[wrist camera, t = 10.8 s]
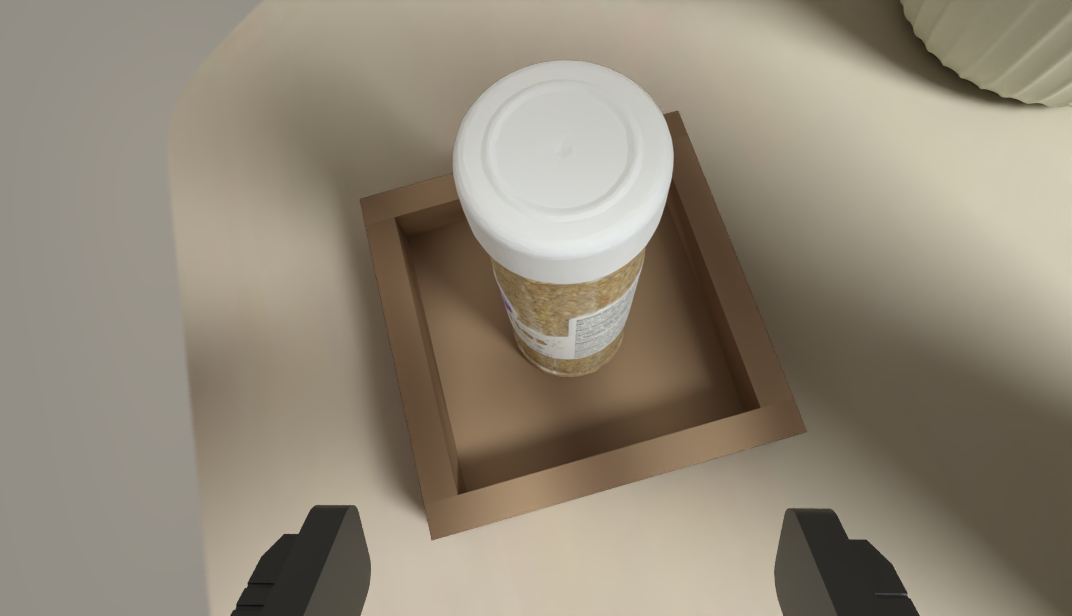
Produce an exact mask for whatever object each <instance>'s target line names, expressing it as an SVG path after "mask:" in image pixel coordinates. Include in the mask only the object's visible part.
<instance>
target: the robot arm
mask: <svg viewBox="0 0 1072 616" xmlns="http://www.w3.org/2000/svg"><path fill="white" fill-rule="evenodd" d="M370 576H371V563H370V557H369V552H368V548H367V544H366V540H365V536H364V532H363V528H362V524H361V520H360V516H359V512H358V509H357V507H356V506H354V505H315V506H314V507H313V508H312V509H311V510H310V512H309V514H308V516H307V518H306V520H305V522H304V524H303V526H302V528H301V530H300V532H299V534H284V535H283V536H282V537H281V538H280V539H279V540H278V541H277V542H276V543H275V544H274V545H273V546H272V547H271V548H270V549H269V550H268V551H267V552H266V553H265V554H264V555H263V556H262V557H261V558H260V560H259V562H258V564H257V566H256V568H255V570H254V572H253V574H252V576H251V577H250V579H249V581H248V586H247V588H245V589H244V591H243V593H242V595H241V596H240V598H239V600H238V602H237V604H236V610H233V612H232V614H231V615H230V616H360V615H361V612H362V609H363V606H364V603H365V600H366V597H367V593H368V589H369V584H370ZM774 576H775V586H776V592H777V597H778V601H779V604H780V607H781V610H782V613H783V616H920V615H919V614H918V612H917V610H916V608H915V606H914V604H913V603H912V601H911V599H910V598H908V596H907V591H906V590H905V588H904V586H903V584H902V582H901V580H900V578H899V577H898V575H897V573H896V571H895V569H894V567H893V565H892V564H891V563H890V562H889V561H888V560H887V559H886V558H885V557H884V556H883V555H882V554H881V553H880V552H879V551H878V550H877V549H876V548H875V547H874V546H873V545H871V544H870V543H869V542H868V541H867V540H849V539H848V537H847V535H846V533H845V531H844V529H843V527H842V524H841V522H840V520H839V518H838V516H837V515H836V513H835V512H834V511H833V510H832V509H795V508H789V509H787V510H786V512H785V515H784V520H783V525H782V530H781V535H780V540H779V546H778V551H777V556H776V561H775V569H774Z"/></svg>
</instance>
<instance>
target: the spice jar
mask: <svg viewBox="0 0 1072 616" xmlns="http://www.w3.org/2000/svg"><path fill="white" fill-rule="evenodd" d="M673 159H674V152H673V144H672V138H671V135H670V132H669V129H668V126H667V123H666V120H665V118H664V116H663V114H662V113H661V111H660V109H659V108H658V106H657V105H656V103H655V102H654V101H653V100H652V99H651V97H650V96H649V95H648V94H647V93H646V92H645V91H644V90H643V89H642V88H641V87H640V86H639V85H637V84H636V83H635V82H633V81H632V80H630V79H629V78H627V77H626V76H624V75H622V74H620V73H618V72H616V71H614V70H612V69H610V68H608V67H604V66H601V65H598V64H594V63H590V62H584V61H576V60H556V61H547V62H542V63H537V64H533V65H530V66H527V67H524V68H521V69H519V70H516V71H514V72H512V73H510V74H508V75H506V76H504V77H503V78H501V79H500V80H498V81H497V82H495V83H494V84H493V85H491V86H490V87H489V88H488V89H487V90H486V91H485V92H483V93H482V94H481V95H480V96H479V98H478V99H477V100H476V101H475V102H474V103H473V105H472V106H471V108H470V109H469V111H468V112H467V113H466V115H465V116H464V118H463V121H462V123H461V125H460V128H459V131H458V133H457V137H456V141H455V145H454V150H453V176H454V181H455V185H456V189H457V193H458V196H459V199H460V202H461V205H462V208H463V211H464V213H465V216H466V218H467V220H468V223H469V225H470V227H471V229H472V232H473V234H474V236H475V237H476V239H477V240H478V241H479V243H480V244H481V246H482V247H483V248H484V249H485V251H486V252H487V253H488V254H489V255H490V259H491V262H492V265H493V271H494V275H495V278H496V281H497V284H498V287H499V289H500V292H501V295H502V298H503V301H504V304H505V307H506V310H507V313H508V316H509V319H510V321H511V324H512V326H513V334H514V337H515V339H516V342H517V345H518V347H519V349H520V350H521V352H522V353H523V355H524V356H525V357H526V358H527V359H528V361H530V362H531V363H532V364H533V365H534V366H536V367H537V368H539V369H540V370H542V371H544V372H545V373H548V374H552V375H555V376H560V377H578V376H583V375H586V374H590V373H593V372H596V371H597V370H598V369H600V368H601V367H602V366H604V365H605V364H607V363H608V362H609V361H610V360H611V359H612V358H613V357H614V355H615V354H616V353H617V351H618V349H619V347H620V346H621V343H622V341H623V337H624V330H625V323H626V320H627V318H628V315H629V311H630V308H631V304H632V301H633V297H634V293H635V290H636V287H637V283H638V280H639V276H640V273H641V269H642V266H643V262H644V256H645V246H646V245H647V243H648V242H649V240H650V239H651V237H652V236H653V234H654V232H655V230H656V228H657V226H658V224H659V222H660V219H661V216H662V213H663V210H664V207H665V203H666V200H667V196H668V191H669V187H670V183H671V179H672V172H673Z"/></svg>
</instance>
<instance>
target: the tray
mask: <svg viewBox="0 0 1072 616" xmlns="http://www.w3.org/2000/svg"><path fill="white" fill-rule="evenodd" d="M663 116H664V118H665V120H666V123H667V126H668V129H669V132H670V135H671V138H672V144H673V152H674V159H673V172H672V179H671V183H670V187H669V191H668V196H667V200H666V203H665V207H664V210H663V213H662V216H661V219H660V222H659V224H658V226H657V228H656V230H655V232H654V234H653V236H652V237H651V239H650V240H649V242H648V243H647V245H646V246H645V256H644V262H643V266H642V269H641V273H640V276H639V280H638V283H637V287H636V290H635V293H634V297H633V301H632V304H631V308H630V311H629V315H628V318H627V320H626V323H625V330H624V337H623V341H622V343H621V346H620V347H619V349H618V351H617V353H616V354H615V355H614V357H613V358H612V359H611V360H610V361H609V362H608V363H607V364H605V365H604V366H602V367H601V368H600V369H598V370H597V371H596V372H593V373H590V374H586V375H583V376H578V377H560V376H555V375H552V374H548V373H545V372H544V371H542V370H540V369H539V368H537V367H536V366H534V365H533V364H532V363H531V362H530V361H528V359H527V358H526V357H525V356H524V355H523V353H522V352H521V350H520V349H519V347H518V345H517V342H516V339H515V337H514V334H513V326H512V324H511V321H510V319H509V316H508V313H507V310H506V307H505V304H504V301H503V298H502V295H501V292H500V289H499V287H498V284H497V281H496V278H495V275H494V271H493V265H492V262H491V259H490V255H489V254H488V253H487V252H486V251H485V249H484V248H483V247H482V246H481V244H480V243H479V241H478V240H477V239H476V237H475V236H474V234H473V232H472V229H471V227H470V225H469V223H468V220H467V218H466V216H465V213H464V211H463V208H462V205H461V202H460V199H459V196H458V193H457V189H456V185H455V181H454V176H453V173H452V174H448V175H445V176H441V177H437V178H434V179H430V180H427V181H423V182H419V183H416V184H412V185H409V186H405V187H401V188H398V189H394V190H391V191H387V192H383V193H380V194H376V195H373V196H369V197H365V198H362V199H360V203H361V208H362V212H363V217H364V222H365V227H366V231H367V236H368V241H369V246H370V250H371V255H372V260H373V265H374V269H375V274H376V279H377V284H378V288H379V293H380V298H381V303H382V307H383V312H384V317H385V322H386V326H387V331H388V336H389V340H390V345H391V350H392V355H393V359H394V364H395V369H396V374H397V378H398V383H399V388H400V393H401V397H402V402H403V407H404V412H405V416H406V421H407V426H408V431H409V435H410V440H411V445H412V450H413V454H414V459H415V464H416V469H417V473H418V478H419V483H420V488H421V492H422V497H423V502H424V507H425V511H426V516H427V521H428V525H429V530H430V535H431V540H435V539H438V538H442V537H445V536H449V535H452V534H456V533H459V532H463V531H466V530H470V529H473V528H476V527H480V526H483V525H487V524H490V523H494V522H497V521H501V520H504V519H508V518H511V517H515V516H518V515H521V514H525V513H528V512H532V511H535V510H539V509H542V508H546V507H549V506H553V505H556V504H560V503H563V502H566V501H570V500H573V499H577V498H580V497H584V496H587V495H591V494H594V493H598V492H601V491H604V490H608V489H611V488H615V487H618V486H622V485H625V484H629V483H632V482H636V481H639V480H643V479H646V478H649V477H653V476H656V475H660V474H663V473H667V472H670V471H674V470H677V469H681V468H684V467H688V466H691V465H694V464H698V463H701V462H705V461H708V460H712V459H715V458H719V457H722V456H726V455H729V454H733V453H736V452H739V451H743V450H746V449H750V448H753V447H757V446H760V445H764V444H767V443H771V442H774V441H777V440H781V439H784V438H788V437H791V436H795V435H798V434H802V433H805V432H807V430H806V428H805V425H804V423H803V420H802V418H801V415H800V413H799V410H798V408H797V405H796V403H795V400H794V398H793V395H792V393H791V390H790V388H789V385H788V383H787V381H786V378H785V376H784V373H783V371H782V368H781V366H780V363H779V361H778V358H777V356H776V353H775V351H774V348H773V346H772V343H771V341H770V338H769V336H768V333H767V331H766V328H765V326H764V323H763V321H762V318H761V316H760V313H759V311H758V308H757V306H756V303H755V301H754V298H753V296H752V293H751V291H750V288H749V286H748V283H747V281H746V278H745V276H744V274H743V271H742V269H741V266H740V264H739V261H738V259H737V256H736V254H735V251H734V249H733V246H732V244H731V241H730V239H729V236H728V234H727V231H726V229H725V226H724V224H723V221H722V219H721V216H720V214H719V211H718V209H717V206H716V204H715V201H714V199H713V196H712V194H711V191H710V189H709V186H708V184H707V181H706V179H705V176H704V174H703V171H702V169H701V166H700V164H699V162H698V159H697V157H696V154H695V152H694V149H693V147H692V144H691V142H690V139H689V137H688V134H687V132H686V129H685V127H684V124H683V122H682V119H681V117H680V114H679V112H678V111H675V112H671V113H668V114H664V115H663Z"/></svg>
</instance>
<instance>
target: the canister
mask: <svg viewBox="0 0 1072 616" xmlns="http://www.w3.org/2000/svg"><path fill="white" fill-rule="evenodd" d="M900 2H901V4H902V5H903V6H904V15H905V18H906V19H907V20H908V21H909V22H910V23H911V24H912V26H913V30H914V34H915V36H917V37H918V38H920V39H921V40H922V41H923V42H924V43H925V45H926V49H927V51H928V52H931V53H933V54H934V55H935V56H936V57H937V58H938V59H939V60H940V61H941V63H942V65H943V66H947V67H949V68H951V69H952V70H954V71H955V72H956V73H957V74H958V75H959V77H960V78H962V79H967V80H969V81H971V82H973V83H974V84H976V85H977V86H978V87H979V88H980V89H987V90H990V91H993V92H995V93H997V94H999V95H1000V96H1001V97H1003V98H1008V97H1010V98H1015V99H1018V100H1020V101H1022V102H1023V103H1027V104H1031V103H1042V104H1044V105H1046V106H1050V107H1060V106H1064V105H1068V106H1072V0H900Z"/></svg>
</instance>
